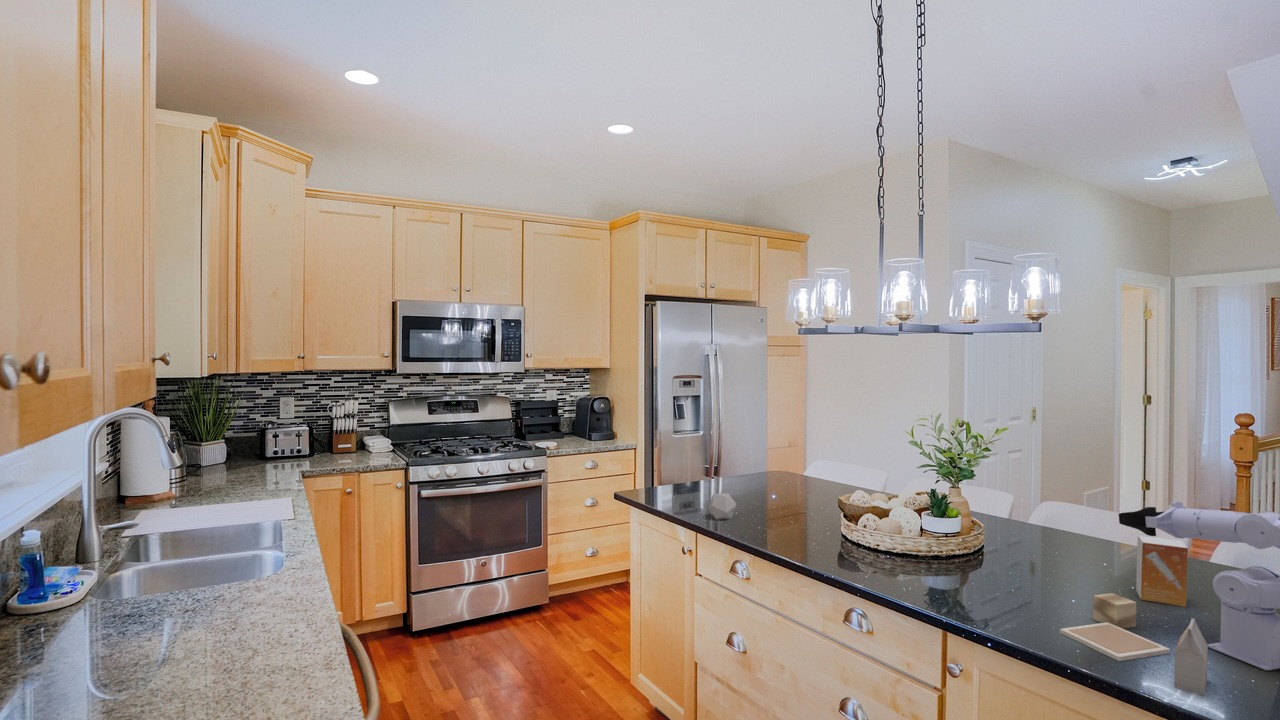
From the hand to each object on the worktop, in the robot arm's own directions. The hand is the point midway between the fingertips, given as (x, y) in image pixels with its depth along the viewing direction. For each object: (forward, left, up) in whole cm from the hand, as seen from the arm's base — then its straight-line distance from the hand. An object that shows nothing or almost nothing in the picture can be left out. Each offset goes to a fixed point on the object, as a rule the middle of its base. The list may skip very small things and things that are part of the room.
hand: (1132, 518), depth 138 cm
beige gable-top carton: (-25, +19, -20) cm, 37 cm away
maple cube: (-3, +8, -20) cm, 22 cm away
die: (+93, +54, -20) cm, 110 cm away
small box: (+4, -14, -20) cm, 25 cm away
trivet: (-10, +17, -20) cm, 28 cm away
